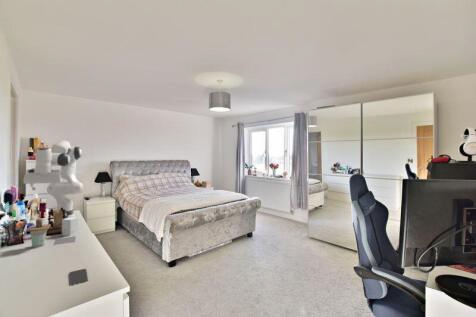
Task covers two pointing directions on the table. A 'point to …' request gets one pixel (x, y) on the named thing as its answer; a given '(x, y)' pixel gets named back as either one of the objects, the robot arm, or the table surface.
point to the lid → (38, 226)
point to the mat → (64, 240)
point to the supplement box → (69, 226)
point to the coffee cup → (38, 238)
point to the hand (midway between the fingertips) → (42, 189)
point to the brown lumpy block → (55, 221)
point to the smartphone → (78, 277)
